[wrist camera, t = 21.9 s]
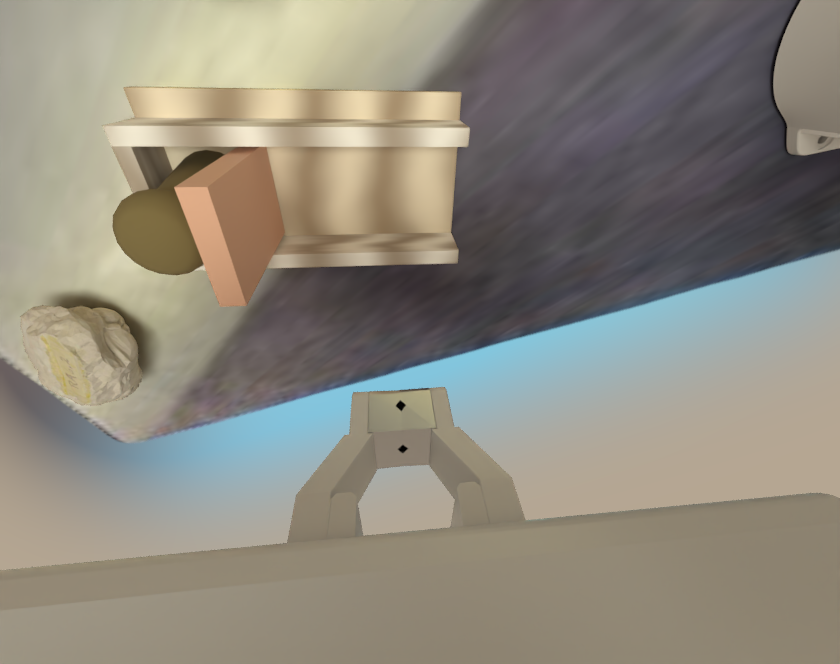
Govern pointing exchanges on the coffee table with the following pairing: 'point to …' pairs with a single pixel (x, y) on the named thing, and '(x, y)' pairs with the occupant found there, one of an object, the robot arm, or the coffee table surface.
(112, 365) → the fossil replica
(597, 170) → the coffee table surface
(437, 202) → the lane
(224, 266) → the block
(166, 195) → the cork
